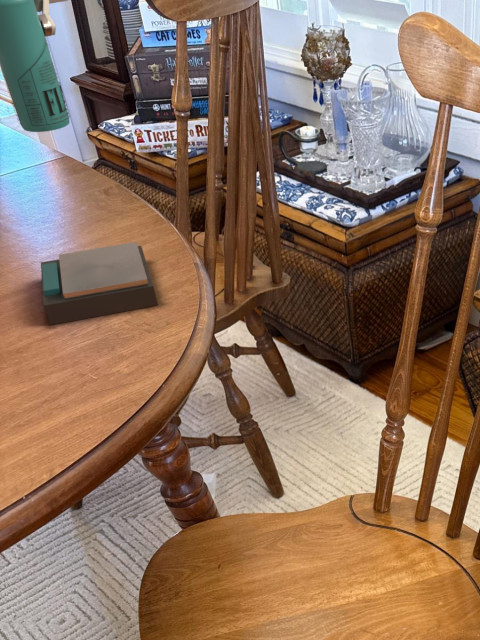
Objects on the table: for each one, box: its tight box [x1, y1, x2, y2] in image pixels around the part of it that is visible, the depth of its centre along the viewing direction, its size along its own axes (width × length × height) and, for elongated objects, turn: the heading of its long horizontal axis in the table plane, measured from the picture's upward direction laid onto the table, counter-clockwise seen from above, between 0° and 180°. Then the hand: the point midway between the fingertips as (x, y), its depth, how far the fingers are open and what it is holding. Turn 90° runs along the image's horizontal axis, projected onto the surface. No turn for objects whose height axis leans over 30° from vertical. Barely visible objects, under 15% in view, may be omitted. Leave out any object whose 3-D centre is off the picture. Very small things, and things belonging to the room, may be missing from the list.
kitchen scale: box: [40, 241, 159, 326], centre depth 100 cm, size 13×13×3 cm
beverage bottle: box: [0, 0, 71, 133], centre depth 97 cm, size 6×7×20 cm
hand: (20, 38), depth 96 cm, fingers closed on beverage bottle, 6 cm apart
